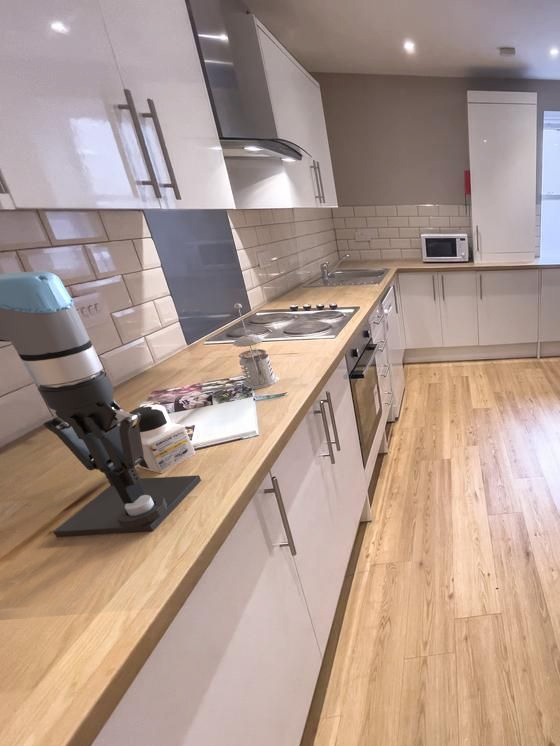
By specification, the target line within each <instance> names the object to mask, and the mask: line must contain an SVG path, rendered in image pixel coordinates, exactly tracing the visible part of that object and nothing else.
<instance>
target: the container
mask: <svg viewBox="0 0 560 746" xmlns="http://www.w3.org/2000/svg"><path fill="white" fill-rule="evenodd" d="M134 412H139V413H140V414H141V419H140V422H139V429H140V435H141V441H142V447H143V453H144V459H143V460H142V461H141V462H140V463H139V464H137V465H136V466H135V467H137V468H140V469H142V470H143V469H144V470H147V471H151V472H154V473H158V474H163V473H165V472H166V471H167V470H170V469H172V468H173V467H175V466H177V465H178V464H180V463H182V462H184V461H186V460H188V459H189V458H192V456H195V455H196V451H195V448H194V446H193V444H192V441H191V439H190V437H189V434H188V432H187V429H186V427H185V426H184V425H183V424H178V423H174V422H172V420H171V419H170V417H169V414H168V412H167V410H166V407H165V406H163V405H162V404H148V405H147V404H146V405H143V406H139V407H137V408H135V409H132V410H131V411H130V412H128V413H130V414H132V413H134Z"/></svg>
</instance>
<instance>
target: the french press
mask: <svg viewBox="0 0 560 746" xmlns="http://www.w3.org/2000/svg"><path fill="white" fill-rule="evenodd" d="M233 308H234V309H238V310H237V311H238V312H239V316H240V319H241V322H242V325H243V329H244V332H245V335H242V336H240V337H237V339H235V340H234V341H233V342H232V346H234V347H236V348H237V347H238V348H245V347H249V348H250V349H249V350H245V351H243V352H240V353H239V355H238V358H239V360H238V363H239V365H240V366H241V367H240V369H241V370H242V371H241V372H242V374H243V378H244V381H245V382H244V383H243V386H246V387H250V388H252V389H251V390H257V389H258V390H259V389H264V388H268V387H271V386H272V385H273V386H274V384H277V382H278V381H280V378H279V377H278V376H276V375H275V373H274V371H273V370H274V369H273V367H272V364H271V360H270V357H269V354H268V353H267V350H265V349H262V348H261V349H260V348H257V347H255V349H252V346H255V345H259V344H260V343H262V342H263V341H264V340H265V338H264V336H261V335H259V334H248V333H247V329H246V326H245V323H244V320H243V316H242V313H241V310H240V309H241V308H243V306H242V304H241V303H237V302H236V303H234V305H233Z"/></svg>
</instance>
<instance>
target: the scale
mask: <svg viewBox="0 0 560 746" xmlns="http://www.w3.org/2000/svg"><path fill="white" fill-rule="evenodd" d="M201 481H202V479H201V476H200V475H197V474H196V475H180V476H161V477H160V476H159V477H144V478H141V477H140V480H139V483H140V485H141V487H142V489H143V491H144V494H143V495H149V496H150V497H151V498H152V500H153V502H154V507H153V508H152V509H151V510H149V511H147V512H145V513H144V514H140V515H137V516H130V515H129V514H128V512H127V510H126V509H125V505H126V504H124V503H123V501H122V499H121V498H120V496H119V494H118V492H117V490H116V488H115V486H112V485H111V484H110V485H109V486H108V487H106V488H105V489H104V490H102V491H101V492H100V493H99V494H97V496H95V497H94V498H93V499H91V501H89V502H88V503H87V504H86V505H84V506H83V507H82V508H80V509H79V510H78V511H77V512H75V513H74V514H73V515H72V516H70V517H69V518H68V519H66V521H64V522H63V523H62V524H61V525H59V526H58V527H57V528H56V529H55V530H53V531H52V533H53V534H54V536H55V537H56V538H70V537H85V536H87V537H88V536H102V535H103V536H104V535H119V534H133V533H134V534H135V533H150V532H154V531H155V530H156V529H158V527H159V526H160V525H161V524H162V523H163V522H164V521H165V519H166V518H167V517H168V516H169V515H170V514H171V513H172V512H173V511H174V510H175V509H176V508H177V507H178V506H179V505H180V504H181V503H182V501H184V499H185V498H186V497H188V495H189V494H190V493H192V491H193V490H194V489H195V488H196V487H197V486H198V485H199V484H200V482H201ZM143 495H141V496H143Z"/></svg>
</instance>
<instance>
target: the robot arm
mask: <svg viewBox="0 0 560 746" xmlns="http://www.w3.org/2000/svg"><path fill="white" fill-rule="evenodd" d="M0 342H1V343H2V342H4V343H9V342H10V343H11V344H12V346H13V348H14V349H15V351H16V353H17V355H18V356H19V358H20V361H21V362H22V364H23V366H24V367H25V369H26V371H27V373H28V375H29V377H30V379H31V380H32V382H33V384H36V385H38V388H37V390H38V392H39V394H40V396H41V398H42V399H43V402H45V405H46V406H47V408H48V409H50V410H53V411H55V415H56V416H54V417H53V418H51V419H49V420H47V421H45V422H44V423H43V426H44V428H46V429H48V430H49V431H50V432H52V433H53V434H55V435H56V437H58V438H59V439H60V440H61V442H62V443H63V444H64V445H65V446H66V447H67V449H69V451H71V453H72V454H73V455H74V456H75V457H76V458H77V460H78V461H79V462H80V463H81V464H82V466H84V468H86V469H87V470H88V471H94V470H97V471H99V472H100V473H102V474H104V475H105V477H106V479H107V481H108V483H109V484H110V485H112V486H115V488H116V490H117V492H118V494H119V496H120V498H121V499H122V501H123V503H124V504H130V503H134V502H135V501H136V500H137V499H138V498H139V497H140V496H141V495H143V494H144V491H143V489H142V487H141V485H140V483H139V480H140V479H141V477H140V474H139V473H138V471H137V469H136V467H137V466H136V465H137V464H139V463H140V462H141V461H142V460H143V459H144V453H143V447H142V441H141V435H140V429H139V422H140V419H141V414H140V413H139V412H134V413H132V414H130V413H129V412H127V411H125V410H123V409H122V407H121V405H120V404H119V403H117V401H115V399H114V393H115V389H114V387H113V383H111V380H110V378H109V376H108V374H107V372H105V371H103V368H104V367H103V365H102V362H101V360H100V358H99V356H98V354H97V351H96V349H95V347H94V345H93V344H92V343H93V342H92V341H91V339H90V336H89V334H88V332H87V330H86V328H85V326H84V323H83V321H82V319H81V317H80V315H79V312H78V310H77V308H76V306H75V303H74V299H73V297H71V295H70V294H69V292H68V291H67V289H66V287H65V285H64V284H63V282H62V280H61V279H60V277H59V276H58V275H57V274H55V273H52V272H49V271H43V270H42V271H41V270H40V271H39V270H37V271H36V270H35V271H17V272H8V273H7V272H6V273H0Z"/></svg>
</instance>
